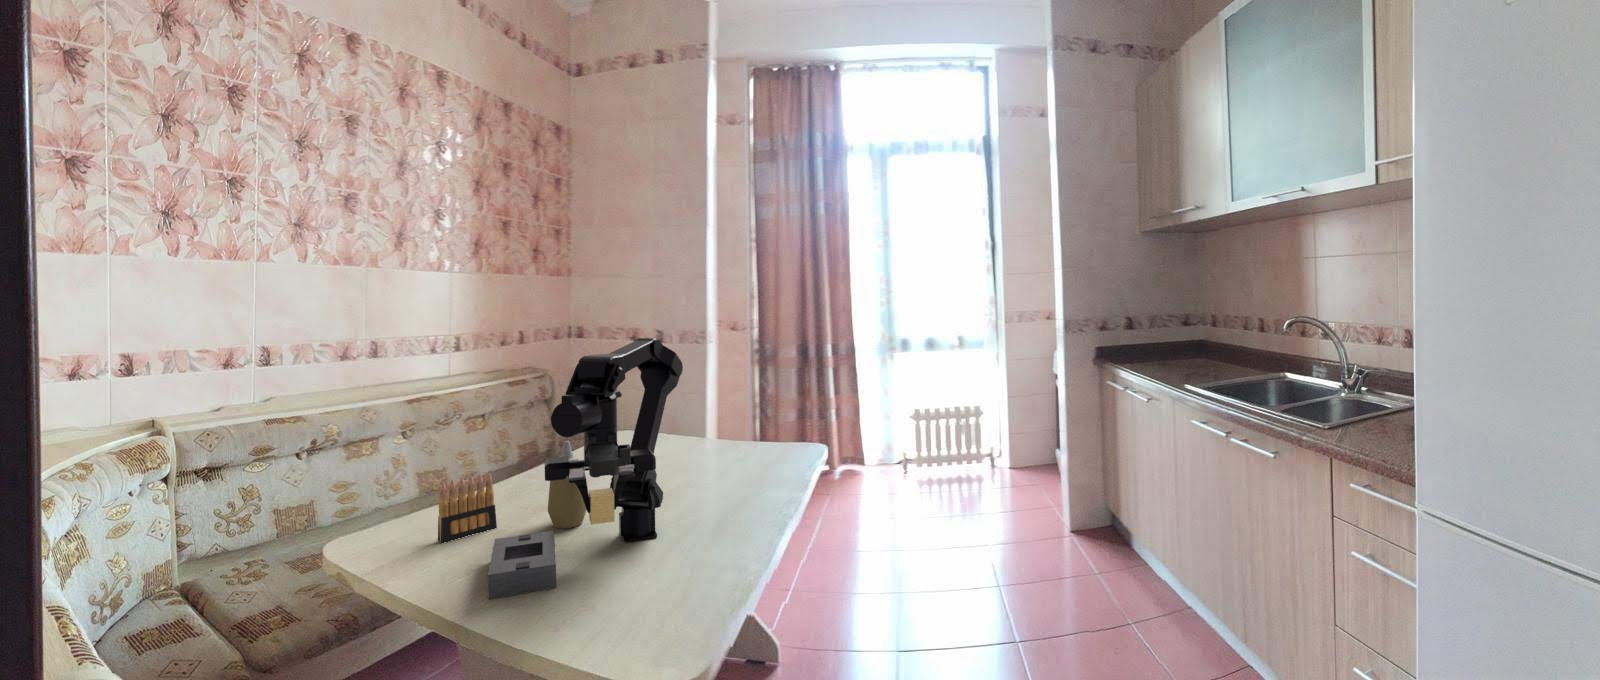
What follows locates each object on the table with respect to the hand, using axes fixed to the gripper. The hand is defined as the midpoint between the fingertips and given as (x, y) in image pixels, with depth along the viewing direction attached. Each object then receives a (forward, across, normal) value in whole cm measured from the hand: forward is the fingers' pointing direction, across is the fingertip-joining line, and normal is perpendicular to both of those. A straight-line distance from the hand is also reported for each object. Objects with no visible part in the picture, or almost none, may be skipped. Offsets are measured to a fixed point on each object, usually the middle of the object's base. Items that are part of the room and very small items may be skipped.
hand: (601, 510), depth 107 cm
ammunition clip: (+10, -24, +25) cm, 36 cm away
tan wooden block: (+2, 0, 0) cm, 2 cm away
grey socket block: (+10, -13, +1) cm, 16 cm away
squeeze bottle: (+10, -5, +23) cm, 26 cm away
